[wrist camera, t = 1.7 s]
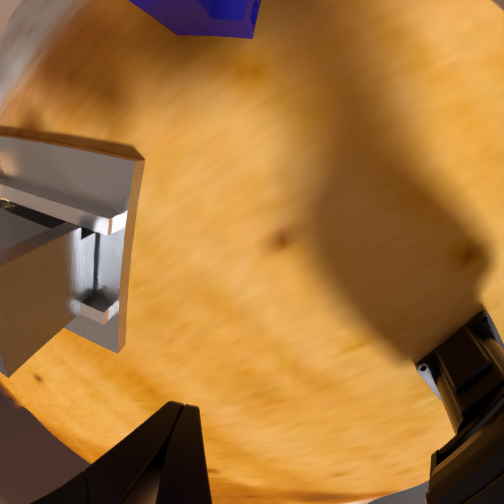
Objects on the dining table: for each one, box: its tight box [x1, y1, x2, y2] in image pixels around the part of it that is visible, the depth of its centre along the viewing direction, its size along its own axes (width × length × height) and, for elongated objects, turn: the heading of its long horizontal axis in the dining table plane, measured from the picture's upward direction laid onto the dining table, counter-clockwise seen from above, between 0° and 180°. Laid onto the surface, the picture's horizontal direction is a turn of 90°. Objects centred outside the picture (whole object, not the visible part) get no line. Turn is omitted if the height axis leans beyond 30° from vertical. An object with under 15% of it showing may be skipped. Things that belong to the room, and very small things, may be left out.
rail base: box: [0, 134, 145, 353], centre depth 18 cm, size 19×14×5 cm
